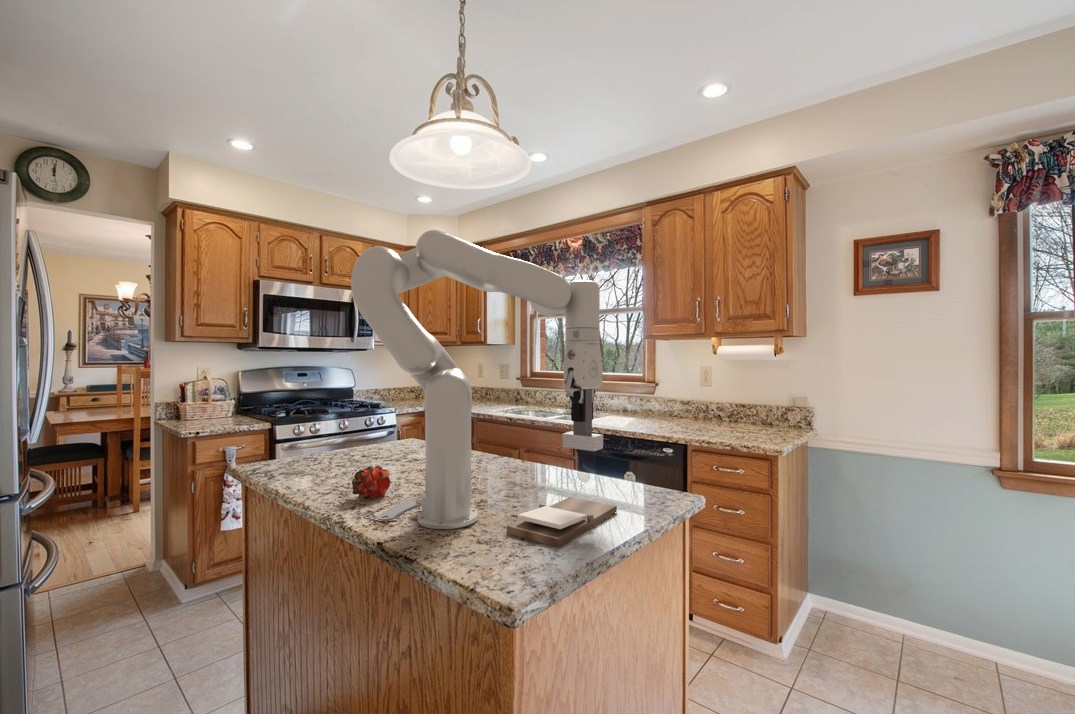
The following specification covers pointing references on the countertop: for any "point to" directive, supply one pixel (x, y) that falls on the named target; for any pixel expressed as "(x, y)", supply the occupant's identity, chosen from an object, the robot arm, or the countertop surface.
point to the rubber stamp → (583, 429)
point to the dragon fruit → (371, 482)
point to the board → (561, 536)
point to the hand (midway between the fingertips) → (582, 419)
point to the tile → (552, 517)
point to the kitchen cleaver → (398, 510)
